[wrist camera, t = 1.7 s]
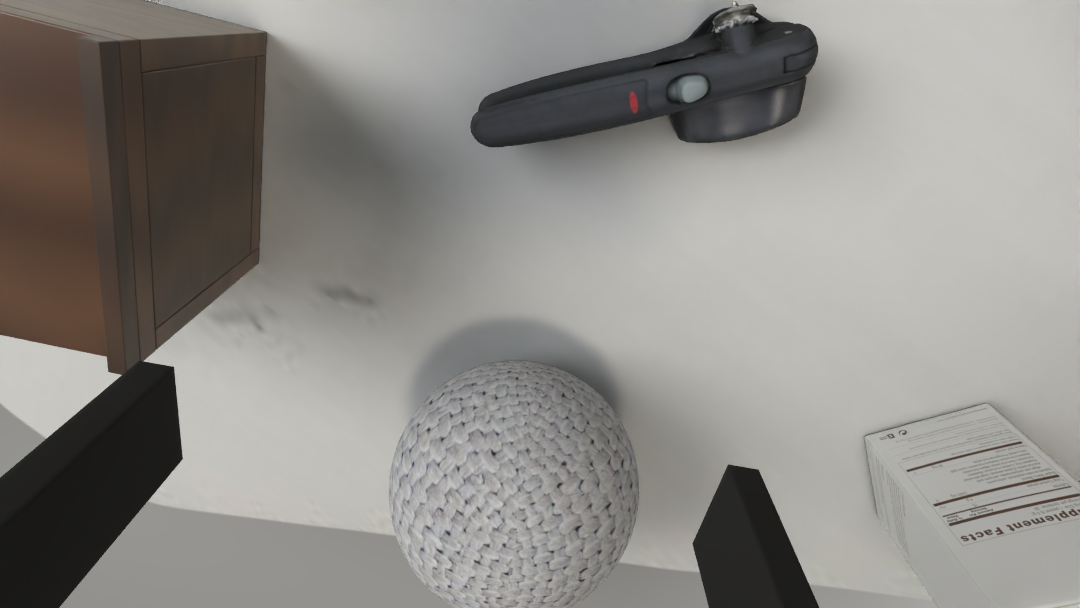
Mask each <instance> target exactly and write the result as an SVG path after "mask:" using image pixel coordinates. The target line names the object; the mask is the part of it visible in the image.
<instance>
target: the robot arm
mask: <svg viewBox="0 0 1080 608" xmlns="http://www.w3.org/2000/svg"><path fill="white" fill-rule="evenodd" d="M182 459H183V458H182V447H181V437H180V427H179V416H178V406H177V395H176V385H175V374H174V367H171V366H166V365H160V364H154V363H149V362H143V361H138V362H137V363H136V364H135V365H134V366H132V367H131V368H130V369H129V370H128V371H127V372H125V373H124V374H123V375H122V376H121V377H119V378H118V379H117V380H116V381H115V382H113V383H112V384H111V385H110V386H109V387H108V388H106V389H105V390H104V391H103V392H102V393H100V394H99V395H98V396H97V397H96V398H94V399H93V400H92V401H91V402H90V403H89V404H87V405H86V406H85V407H84V408H83V409H81V410H80V411H79V412H78V413H77V414H75V415H74V416H73V417H72V418H71V419H70V420H68V421H67V422H66V423H65V424H64V425H62V426H61V427H60V428H59V429H58V430H56V431H55V432H54V433H53V434H52V435H51V436H49V437H48V438H47V439H46V440H45V441H43V442H42V443H41V444H40V445H39V446H38V447H36V448H35V449H34V450H33V451H32V452H30V453H29V454H28V455H27V456H26V457H24V459H22V460H21V461H20V462H18V463H17V464H16V465H15V466H14V467H13V468H11V469H10V470H9V471H8V472H7V473H5V474H4V475H3V476H2V477H1V478H0V608H59V607H60V606H61V604H62V603H63V602H64V601H65V600H66V599H67V597H68V596H69V595H70V594H71V593H72V591H73V590H74V589H75V588H76V586H77V585H78V584H79V583H80V582H81V580H82V579H83V578H84V577H85V576H86V575H87V573H88V572H89V571H90V570H91V568H92V567H93V566H94V565H95V564H96V563H97V561H98V560H99V559H100V558H101V557H102V555H103V554H104V553H105V552H106V550H107V549H108V548H109V547H110V546H111V545H112V543H113V542H114V541H115V540H116V538H117V537H118V536H119V535H120V534H121V532H122V531H123V530H124V529H125V528H126V526H127V525H128V524H129V523H130V522H131V520H132V519H133V518H134V517H135V516H136V514H137V513H138V512H139V511H140V510H141V508H142V507H143V506H144V505H145V504H146V502H147V501H148V500H149V499H150V498H151V496H152V495H153V494H154V493H155V492H156V490H157V489H158V488H159V487H160V486H161V484H162V483H163V482H164V481H165V480H166V478H167V477H168V476H169V475H170V474H171V472H172V471H173V470H174V469H175V468H176V466H177V465H178V464H179V463H180V462H181V460H182ZM693 547H694V551H695V555H696V559H697V562H698V566H699V570H700V574H701V578H702V582H703V586H704V589H705V593H706V598H707V601H708V605H709V608H819V606H818V604H817V602H816V599H815V597H814V595H813V592H812V590H811V588H810V586H809V583H808V581H807V579H806V576H805V574H804V572H803V570H802V567H801V565H800V563H799V561H798V558H797V556H796V554H795V552H794V549H793V547H792V545H791V542H790V540H789V538H788V536H787V533H786V531H785V529H784V527H783V524H782V522H781V520H780V517H779V515H778V513H777V511H776V508H775V506H774V504H773V502H772V499H771V497H770V495H769V493H768V490H767V488H766V486H765V483H764V481H763V479H762V477H761V474H760V472H759V470H757V469H751V468H745V467H740V466H734V465H728V466H727V468H726V471H725V473H724V475H723V477H722V480H721V482H720V484H719V486H718V488H717V491H716V493H715V495H714V497H713V499H712V502H711V504H710V506H709V508H708V511H707V513H706V515H705V517H704V519H703V522H702V524H701V526H700V528H699V531H698V533H697V535H696V537H695V539H694V542H693Z"/></svg>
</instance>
